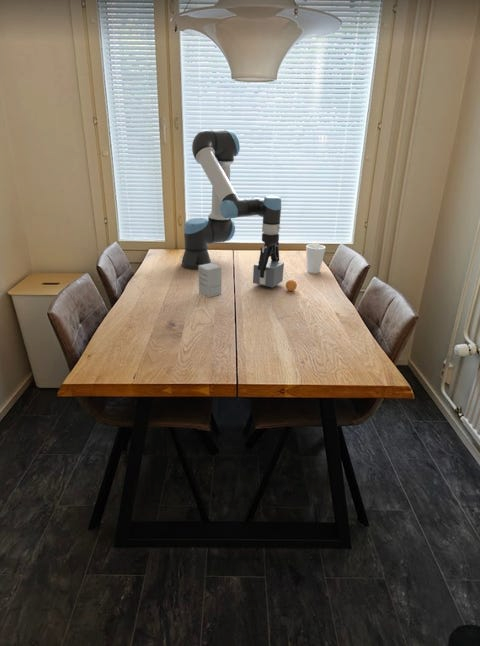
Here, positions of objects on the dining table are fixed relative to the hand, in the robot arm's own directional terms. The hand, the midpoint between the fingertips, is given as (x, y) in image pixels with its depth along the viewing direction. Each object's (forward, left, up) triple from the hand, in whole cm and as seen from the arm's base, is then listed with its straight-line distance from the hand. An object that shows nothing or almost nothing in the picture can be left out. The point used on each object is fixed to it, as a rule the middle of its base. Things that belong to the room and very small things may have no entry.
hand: (267, 280), depth 203 cm
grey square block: (0, 0, -1) cm, 1 cm away
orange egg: (+12, 0, 0) cm, 12 cm away
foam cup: (+10, +32, -3) cm, 34 cm away
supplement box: (-17, -23, -3) cm, 29 cm away
